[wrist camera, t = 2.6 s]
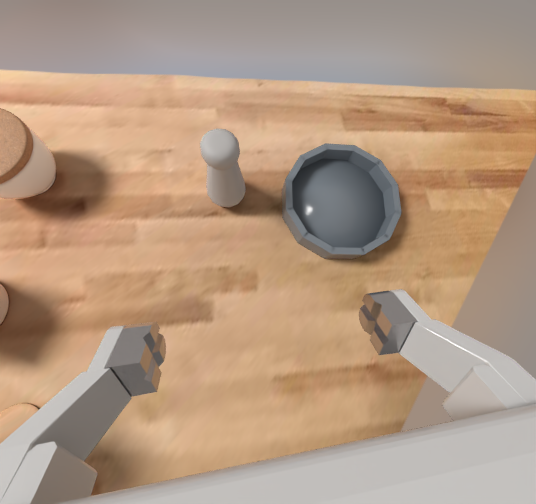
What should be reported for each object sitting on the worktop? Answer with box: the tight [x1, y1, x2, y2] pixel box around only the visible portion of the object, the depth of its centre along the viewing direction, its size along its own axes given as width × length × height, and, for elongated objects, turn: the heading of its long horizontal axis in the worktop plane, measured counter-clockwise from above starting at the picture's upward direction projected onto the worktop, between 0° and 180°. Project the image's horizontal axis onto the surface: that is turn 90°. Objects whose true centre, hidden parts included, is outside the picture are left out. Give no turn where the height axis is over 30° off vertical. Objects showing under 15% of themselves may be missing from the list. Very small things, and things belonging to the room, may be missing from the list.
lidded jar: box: [0, 108, 56, 199], centre depth 31 cm, size 11×11×9 cm
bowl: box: [282, 144, 401, 259], centre depth 37 cm, size 18×18×4 cm
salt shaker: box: [200, 129, 246, 207], centre depth 31 cm, size 6×6×13 cm
